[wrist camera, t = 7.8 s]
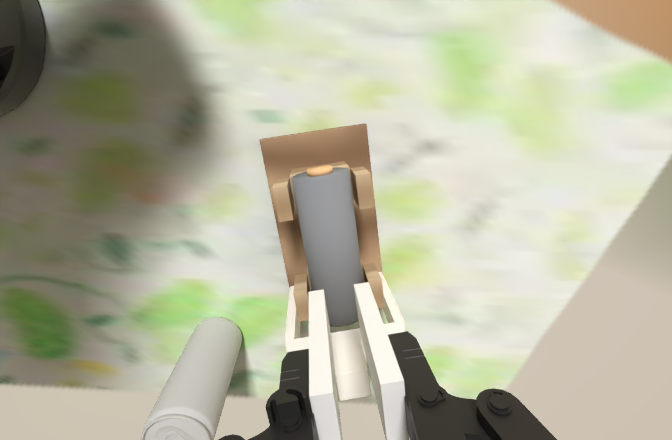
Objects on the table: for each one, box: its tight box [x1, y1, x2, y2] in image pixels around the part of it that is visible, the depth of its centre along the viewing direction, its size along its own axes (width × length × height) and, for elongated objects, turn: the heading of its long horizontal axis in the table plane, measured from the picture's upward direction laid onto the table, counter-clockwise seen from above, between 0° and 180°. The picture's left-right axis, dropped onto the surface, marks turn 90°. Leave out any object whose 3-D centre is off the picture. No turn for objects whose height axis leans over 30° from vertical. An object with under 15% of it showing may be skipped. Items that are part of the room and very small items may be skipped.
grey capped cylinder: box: [292, 165, 363, 326], centre depth 25 cm, size 12×4×4 cm, turn 8°
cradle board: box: [260, 124, 385, 322], centre depth 28 cm, size 16×9×8 cm, turn 8°
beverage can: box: [141, 317, 242, 440], centre depth 29 cm, size 5×5×12 cm
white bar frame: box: [285, 272, 405, 401], centre depth 27 cm, size 2×9×12 cm, turn 98°
